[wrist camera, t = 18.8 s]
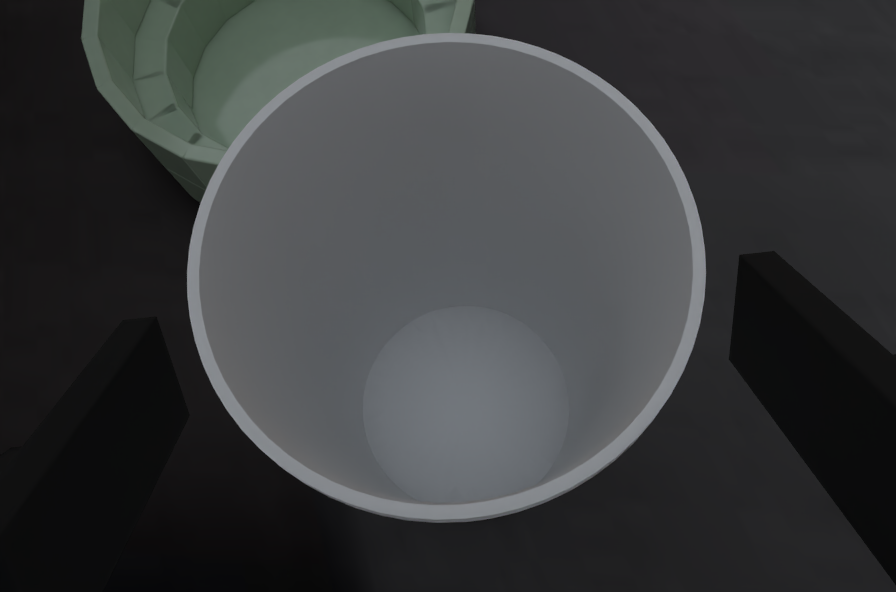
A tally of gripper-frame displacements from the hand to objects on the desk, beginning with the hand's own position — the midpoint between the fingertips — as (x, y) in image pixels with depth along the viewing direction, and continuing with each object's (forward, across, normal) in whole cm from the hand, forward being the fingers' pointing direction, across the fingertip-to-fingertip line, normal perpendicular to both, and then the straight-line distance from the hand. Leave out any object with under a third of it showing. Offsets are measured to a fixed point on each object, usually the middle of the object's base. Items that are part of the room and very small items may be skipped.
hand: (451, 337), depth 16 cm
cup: (+8, 0, -8) cm, 11 cm away
